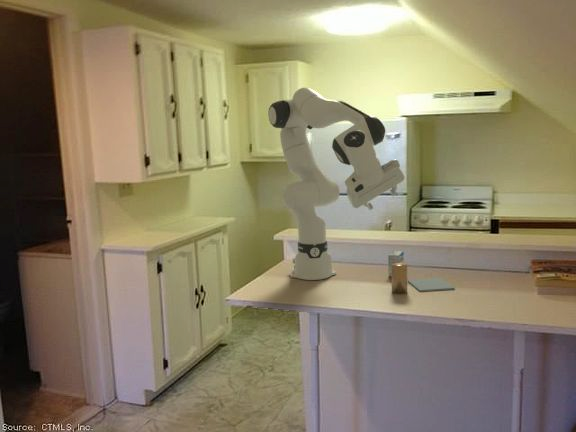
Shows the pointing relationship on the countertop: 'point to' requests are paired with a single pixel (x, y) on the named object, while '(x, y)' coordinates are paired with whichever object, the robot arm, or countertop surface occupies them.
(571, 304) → the countertop surface
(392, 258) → the medicine box
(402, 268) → the tea tin
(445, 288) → the mat
